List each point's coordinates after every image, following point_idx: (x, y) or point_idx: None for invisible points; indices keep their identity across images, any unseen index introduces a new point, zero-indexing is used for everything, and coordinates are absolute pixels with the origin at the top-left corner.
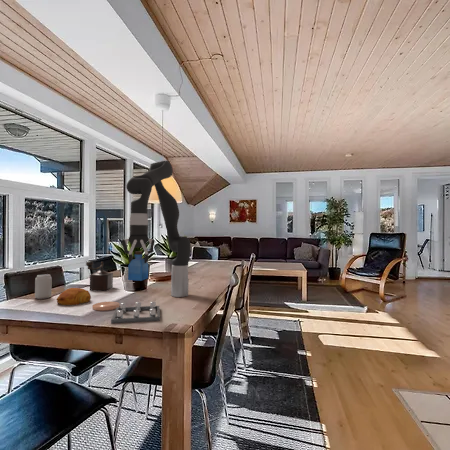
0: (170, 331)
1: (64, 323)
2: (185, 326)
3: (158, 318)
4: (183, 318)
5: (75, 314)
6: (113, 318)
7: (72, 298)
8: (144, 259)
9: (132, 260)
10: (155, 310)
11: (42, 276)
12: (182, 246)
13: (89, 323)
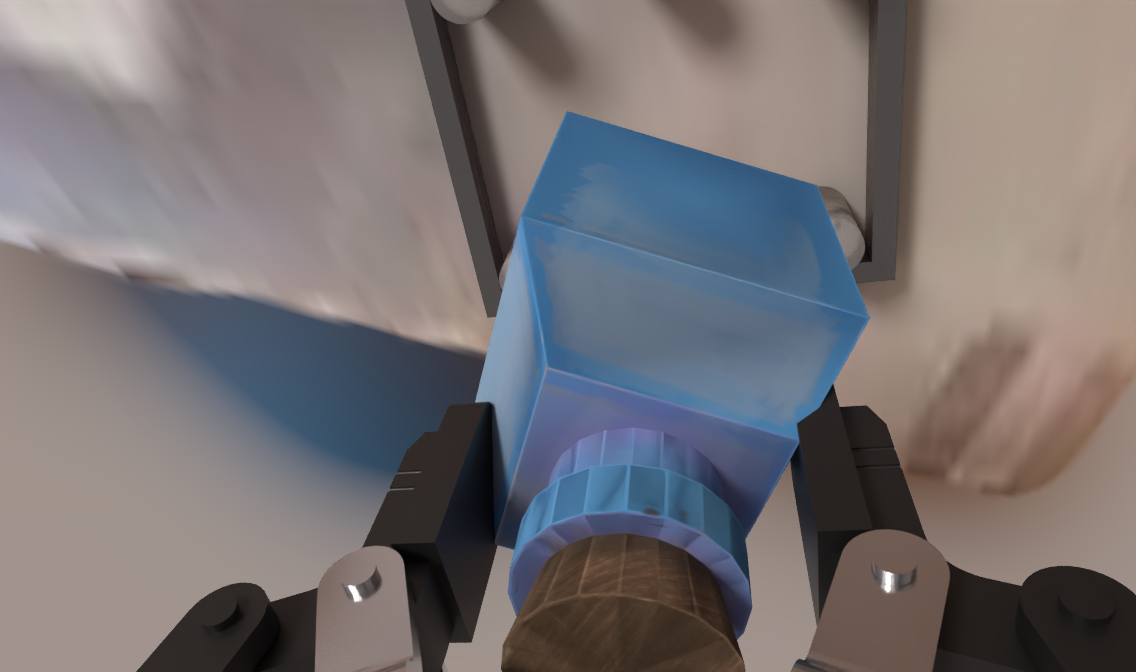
0: (949, 478)
1: (163, 283)
2: (1086, 402)
3: (878, 276)
4: (1129, 207)
5: (70, 46)
6: (495, 292)
7: None
8: (788, 459)
9: (513, 539)
10: (861, 248)
11: None
12: None
13: (336, 293)
